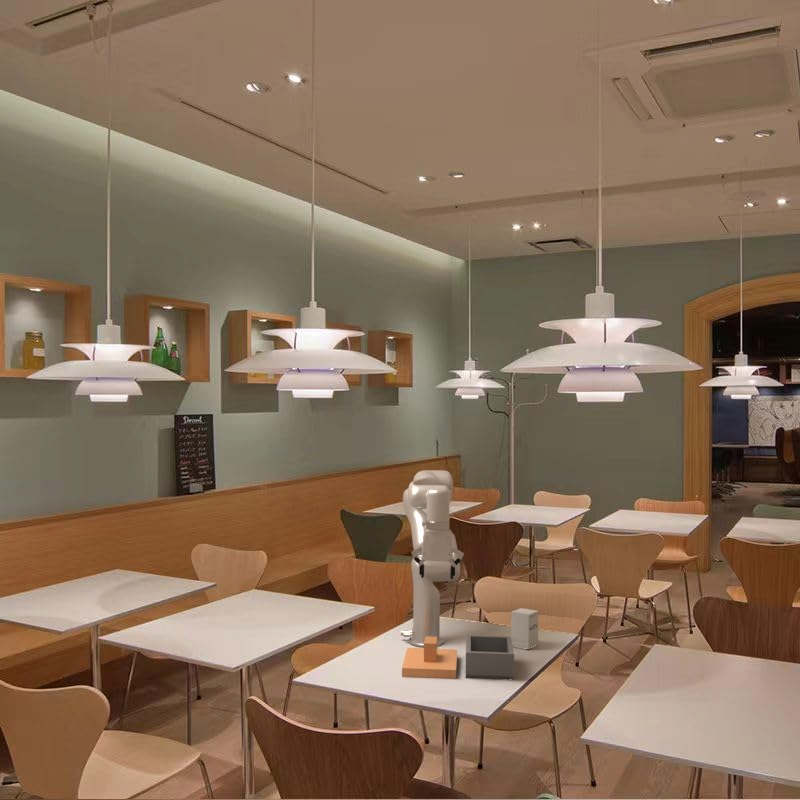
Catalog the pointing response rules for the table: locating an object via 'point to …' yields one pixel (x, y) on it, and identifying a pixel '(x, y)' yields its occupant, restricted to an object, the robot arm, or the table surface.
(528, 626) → the supplement box
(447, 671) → the lid
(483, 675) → the tub
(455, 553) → the robot arm
